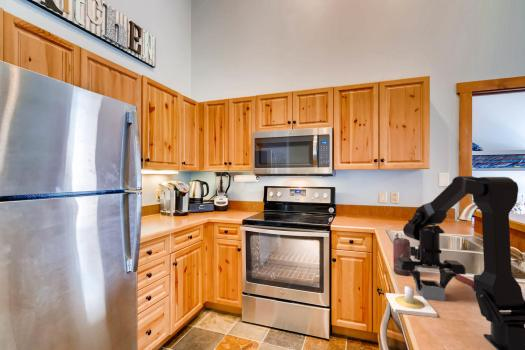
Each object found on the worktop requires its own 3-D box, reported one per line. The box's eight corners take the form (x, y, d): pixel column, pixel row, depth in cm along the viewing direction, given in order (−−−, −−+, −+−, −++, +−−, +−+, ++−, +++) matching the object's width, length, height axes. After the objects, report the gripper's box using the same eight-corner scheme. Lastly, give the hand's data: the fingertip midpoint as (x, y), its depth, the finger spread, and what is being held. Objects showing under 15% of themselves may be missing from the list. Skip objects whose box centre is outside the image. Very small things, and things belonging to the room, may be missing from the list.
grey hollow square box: (445, 300, 82) (445, 288, 82) (422, 298, 83) (422, 286, 83) (436, 292, 88) (436, 280, 88) (415, 290, 90) (415, 279, 90)
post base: (437, 317, 72) (437, 297, 72) (394, 312, 75) (394, 293, 75) (422, 299, 83) (422, 282, 83) (385, 295, 86) (385, 279, 86)
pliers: (470, 298, 85) (470, 290, 85) (451, 276, 104) (451, 269, 104) (515, 304, 81) (515, 296, 81) (486, 280, 99) (486, 273, 99)
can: (410, 272, 107) (410, 238, 107) (409, 277, 102) (409, 241, 102) (394, 269, 110) (394, 236, 110) (392, 274, 105) (392, 239, 105)
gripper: (449, 240, 92) (449, 283, 92) (392, 237, 96) (393, 279, 96) (466, 248, 81) (467, 298, 81) (401, 245, 85) (402, 292, 85)
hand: (429, 290), depth 86 cm, fingers closed on grey hollow square box, 6 cm apart
